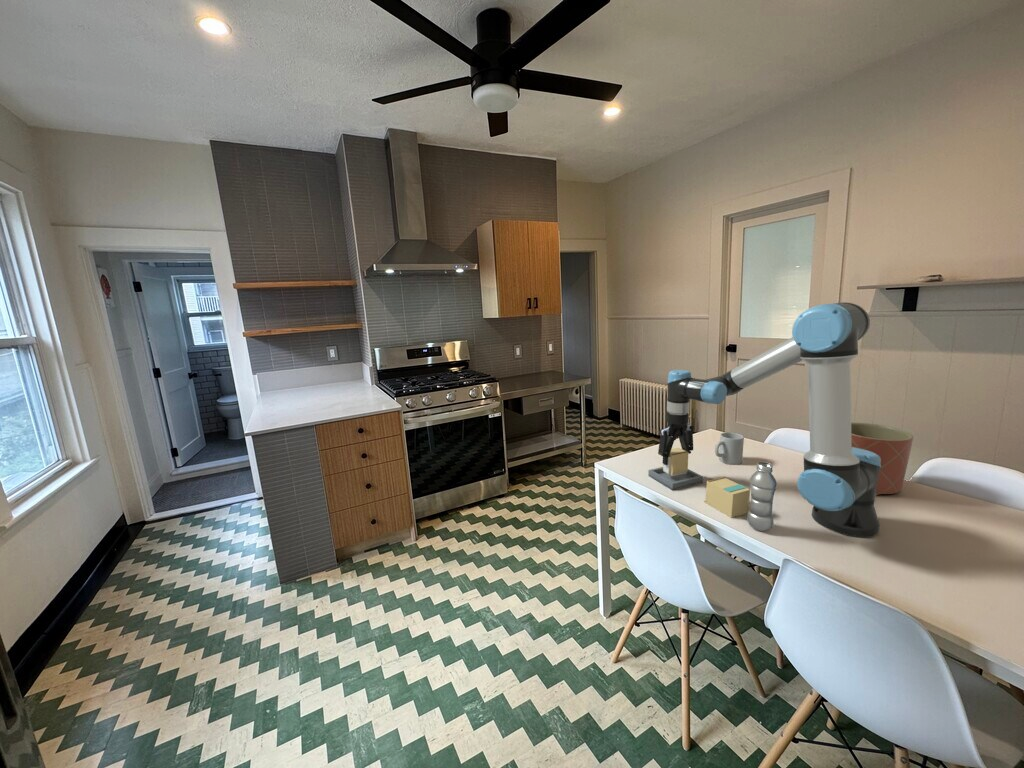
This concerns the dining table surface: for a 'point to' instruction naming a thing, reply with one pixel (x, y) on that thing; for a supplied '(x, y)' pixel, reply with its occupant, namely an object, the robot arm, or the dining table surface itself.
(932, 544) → the dining table surface
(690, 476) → the tray
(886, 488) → the planter
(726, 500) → the tan teal-banded block
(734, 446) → the mug
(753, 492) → the plastic bottle
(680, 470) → the plain tan block
